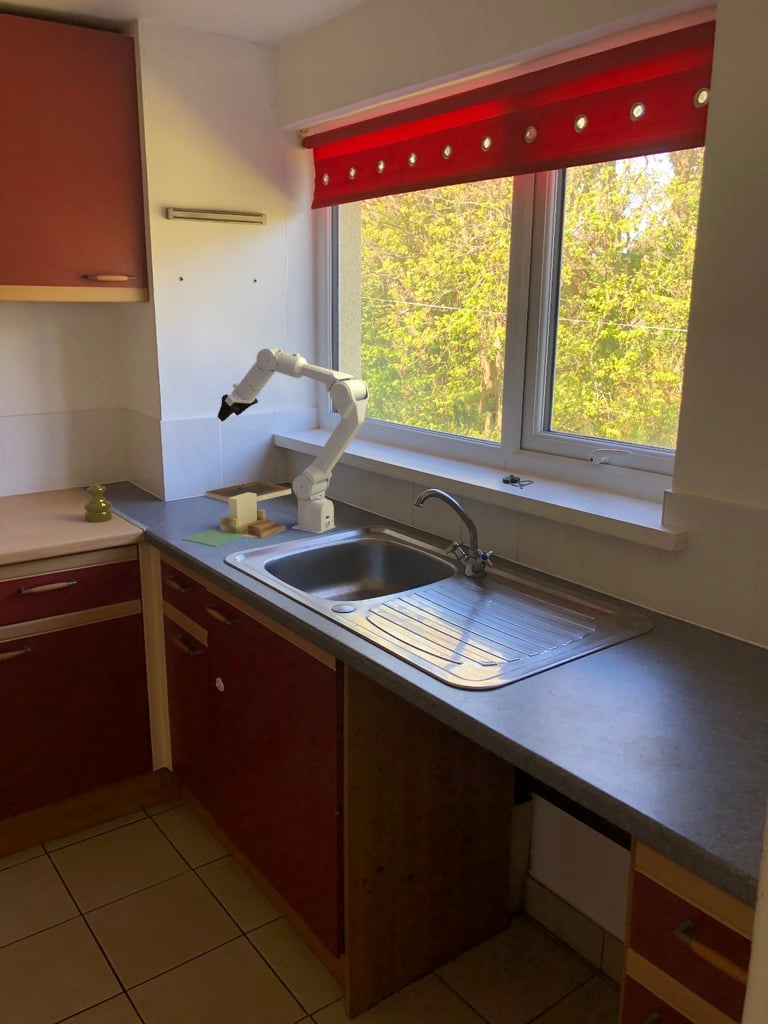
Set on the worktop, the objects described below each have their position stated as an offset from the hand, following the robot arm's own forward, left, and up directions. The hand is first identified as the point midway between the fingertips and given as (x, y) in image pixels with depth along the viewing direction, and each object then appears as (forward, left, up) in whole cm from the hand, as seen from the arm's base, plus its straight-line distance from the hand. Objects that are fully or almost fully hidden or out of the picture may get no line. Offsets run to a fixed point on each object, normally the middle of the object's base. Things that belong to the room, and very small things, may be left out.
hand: (227, 415), depth 236 cm
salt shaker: (+29, +24, -29) cm, 47 cm away
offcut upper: (-20, +9, -27) cm, 35 cm away
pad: (-12, +21, -29) cm, 38 cm away
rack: (-16, +9, -29) cm, 34 cm away
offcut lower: (-20, +9, -29) cm, 36 cm away
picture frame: (+13, -22, -30) cm, 39 cm away
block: (-12, +9, -29) cm, 32 cm away
